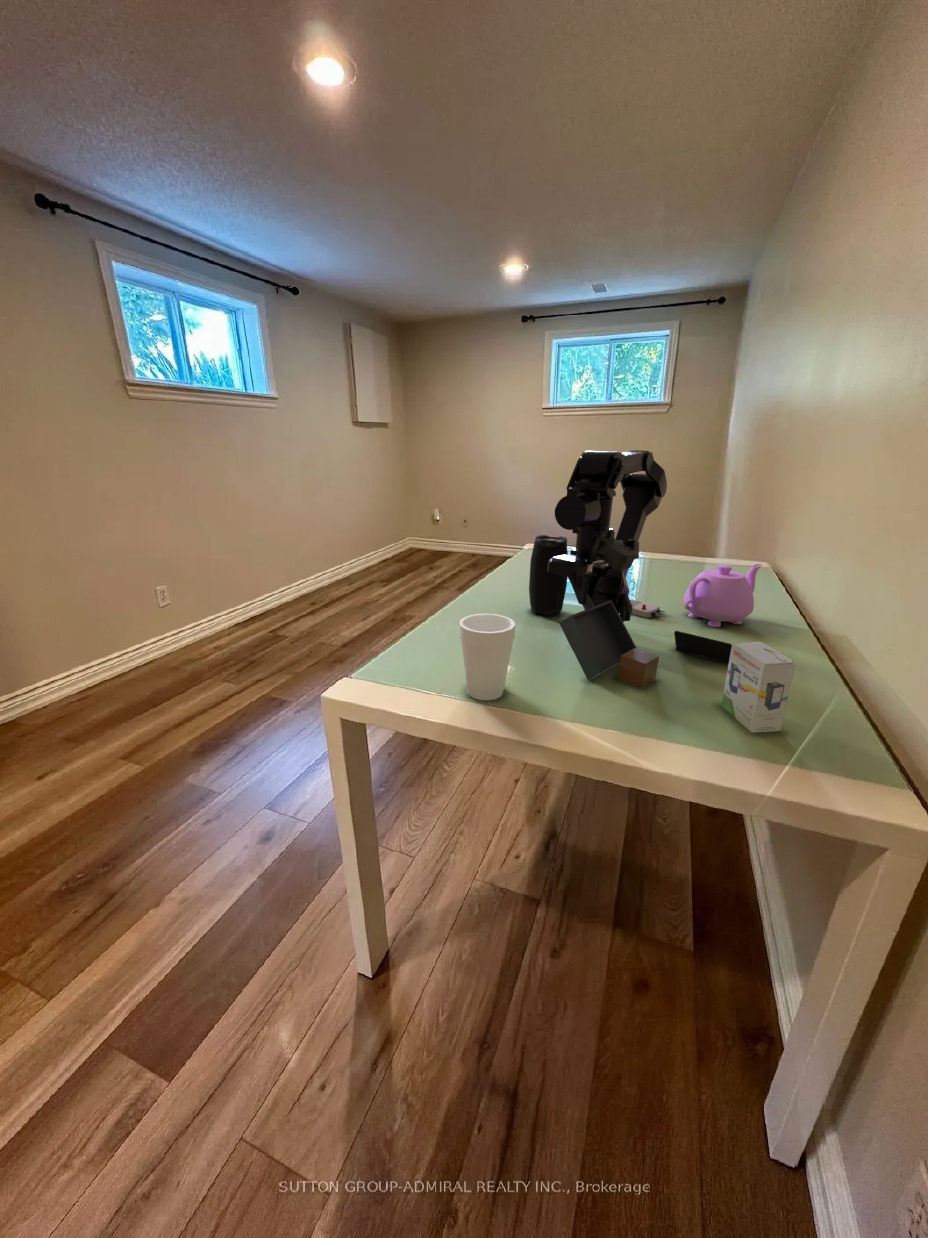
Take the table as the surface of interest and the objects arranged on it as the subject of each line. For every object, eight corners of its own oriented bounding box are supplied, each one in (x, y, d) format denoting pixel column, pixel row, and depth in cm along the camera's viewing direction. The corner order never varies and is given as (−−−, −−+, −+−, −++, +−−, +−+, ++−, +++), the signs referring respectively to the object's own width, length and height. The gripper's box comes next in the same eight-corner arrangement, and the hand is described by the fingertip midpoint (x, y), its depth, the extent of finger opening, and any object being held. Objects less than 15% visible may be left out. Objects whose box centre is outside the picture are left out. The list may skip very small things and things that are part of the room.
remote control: (618, 602, 136) (619, 591, 135) (674, 616, 125) (676, 605, 124) (606, 607, 131) (607, 596, 130) (662, 622, 121) (664, 611, 120)
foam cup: (457, 679, 91) (458, 613, 86) (507, 678, 91) (510, 613, 87) (460, 705, 82) (461, 633, 78) (515, 704, 83) (519, 632, 78)
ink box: (781, 732, 75) (800, 663, 71) (749, 734, 75) (766, 664, 71) (746, 704, 83) (761, 640, 79) (717, 705, 83) (731, 641, 79)
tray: (587, 585, 103) (601, 577, 100) (626, 658, 100) (641, 652, 97) (546, 598, 94) (560, 590, 91) (587, 680, 91) (603, 673, 88)
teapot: (726, 605, 134) (737, 555, 129) (777, 624, 120) (790, 570, 116) (661, 613, 127) (669, 561, 123) (706, 634, 114) (717, 577, 109)
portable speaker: (524, 608, 130) (528, 534, 124) (557, 606, 131) (563, 534, 125) (532, 618, 122) (537, 541, 116) (568, 617, 123) (575, 540, 117)
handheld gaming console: (739, 644, 104) (738, 617, 96) (736, 674, 100) (735, 648, 93) (680, 640, 110) (675, 614, 103) (675, 668, 106) (670, 643, 99)
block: (659, 656, 90) (655, 680, 91) (634, 648, 93) (630, 671, 95) (646, 664, 86) (642, 689, 88) (620, 655, 90) (617, 679, 92)
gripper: (605, 535, 79) (594, 625, 84) (659, 523, 91) (646, 603, 96) (549, 525, 86) (542, 609, 92) (606, 516, 98) (597, 590, 104)
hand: (584, 603), depth 96 cm, fingers closed on tray, 2 cm apart
